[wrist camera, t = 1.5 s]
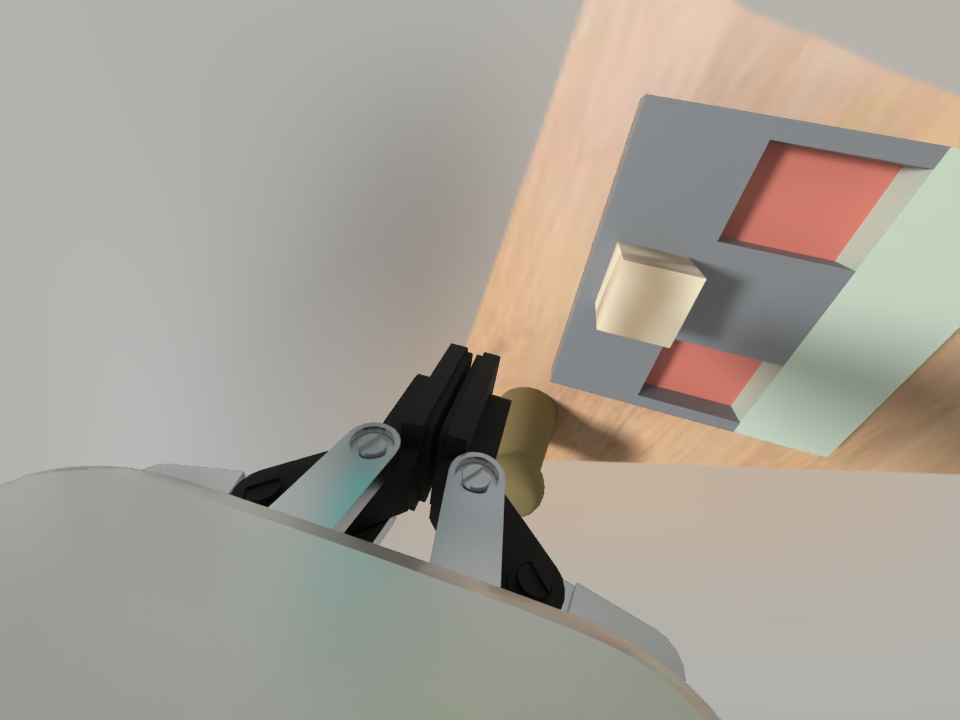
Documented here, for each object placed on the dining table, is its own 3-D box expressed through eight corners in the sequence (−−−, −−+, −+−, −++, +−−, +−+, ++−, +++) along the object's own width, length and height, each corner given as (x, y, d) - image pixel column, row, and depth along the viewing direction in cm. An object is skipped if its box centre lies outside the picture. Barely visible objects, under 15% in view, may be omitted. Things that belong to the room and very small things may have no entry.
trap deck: (1057, 171, 19) (1114, 175, 17) (810, 435, 30) (826, 457, 28) (640, 98, 22) (646, 94, 20) (552, 366, 33) (550, 381, 31)
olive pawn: (554, 438, 37) (544, 536, 28) (497, 430, 39) (469, 520, 29) (560, 391, 34) (551, 483, 25) (497, 383, 35) (467, 468, 26)
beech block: (687, 256, 23) (706, 278, 20) (657, 317, 26) (669, 348, 22) (617, 240, 24) (623, 259, 20) (594, 302, 26) (596, 329, 23)
